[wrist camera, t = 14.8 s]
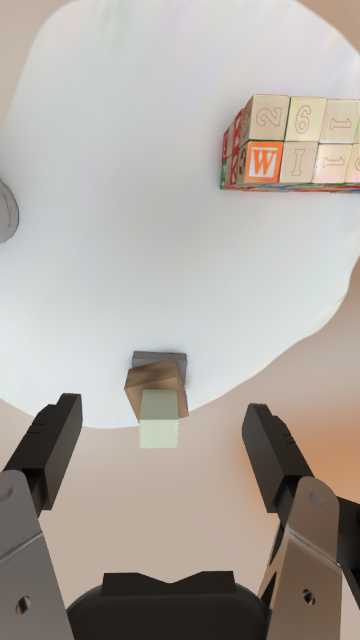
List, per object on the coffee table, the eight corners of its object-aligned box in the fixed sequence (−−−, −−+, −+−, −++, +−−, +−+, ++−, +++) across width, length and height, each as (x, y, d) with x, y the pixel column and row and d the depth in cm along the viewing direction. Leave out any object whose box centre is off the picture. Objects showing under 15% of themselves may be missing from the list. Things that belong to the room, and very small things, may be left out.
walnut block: (143, 404, 45) (140, 426, 40) (128, 369, 42) (124, 388, 37) (186, 394, 44) (188, 416, 40) (175, 358, 41) (176, 376, 36)
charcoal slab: (134, 390, 47) (132, 401, 44) (134, 349, 43) (132, 358, 41) (181, 392, 48) (182, 403, 45) (185, 352, 44) (187, 361, 41)
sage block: (143, 414, 39) (140, 448, 34) (143, 389, 37) (139, 419, 32) (175, 414, 39) (177, 447, 34) (176, 389, 37) (178, 419, 32)
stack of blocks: (387, 139, 32) (507, 101, 21) (371, 194, 34) (470, 187, 23) (222, 134, 31) (253, 91, 20) (218, 190, 33) (244, 181, 22)
